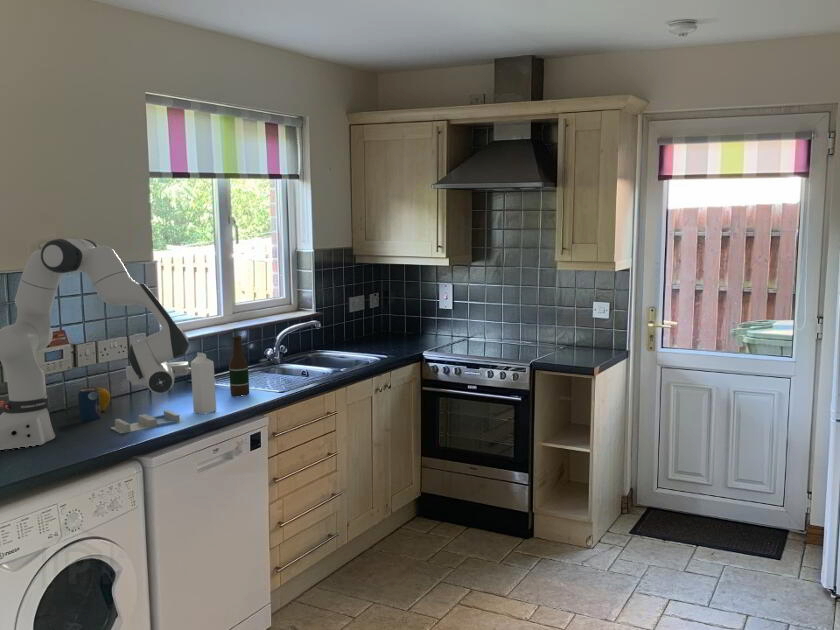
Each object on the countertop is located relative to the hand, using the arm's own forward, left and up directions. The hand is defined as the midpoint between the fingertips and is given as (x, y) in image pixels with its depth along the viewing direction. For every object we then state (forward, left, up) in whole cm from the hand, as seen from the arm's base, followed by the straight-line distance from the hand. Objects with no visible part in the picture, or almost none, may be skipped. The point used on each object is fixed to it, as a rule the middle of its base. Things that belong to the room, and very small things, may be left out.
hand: (157, 366), depth 273 cm
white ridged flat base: (-5, 0, -21) cm, 21 cm away
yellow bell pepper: (-8, +39, -21) cm, 45 cm away
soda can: (-16, +24, -21) cm, 36 cm away
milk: (+20, +8, -21) cm, 30 cm away
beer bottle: (+43, +25, -21) cm, 54 cm away
